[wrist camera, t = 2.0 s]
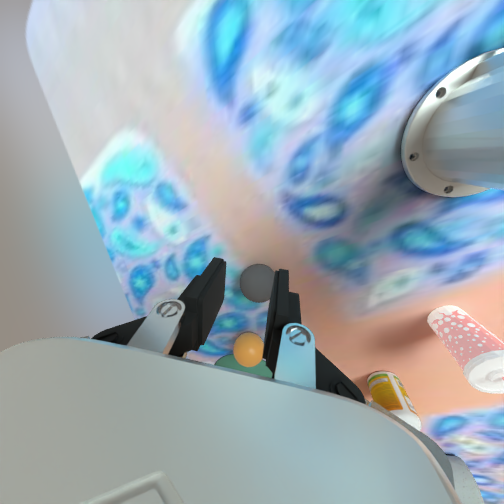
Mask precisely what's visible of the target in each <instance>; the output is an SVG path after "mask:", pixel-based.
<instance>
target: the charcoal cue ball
mask: <svg viewBox="0 0 504 504" xmlns="http://www.w3.org/2000/svg"><path fill="white" fill-rule="evenodd" d="M274 276H275V272H274V271H273V270H272V269H271V268H270V267H268V266H266V265H263V264H255V265H252V266H250V267H248V268H247V269H246V270H245V271H244V272H243V274H242V275H241V278H240V288H241V291H242V293H243V295H244V296H245V297H246V298H247V299H249V300H251V301H253V302H258V303H260V302H265V301H268V300H269V299H270V297H271V292H272V287H273V281H274Z"/></svg>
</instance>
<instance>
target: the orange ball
mask: <svg viewBox="0 0 504 504" xmlns="http://www.w3.org/2000/svg"><path fill="white" fill-rule="evenodd" d="M263 348H264V343H263V341H262V339H261V338H260V337H259V336H258V335H257V334H255V333H251V332H247V333H243V334H241V335H240V336H239V337H238V338H237V339H236V341H235V343H234V347H233V353H234V357H235V359H236V360H237V362H238V363H239V364H240V365H242V366H244V367H253V366H256V365H257V364H259V363H260V361H261V360H262V356H263Z"/></svg>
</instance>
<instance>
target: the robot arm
mask: <svg viewBox="0 0 504 504" xmlns="http://www.w3.org/2000/svg"><path fill="white" fill-rule="evenodd" d="M436 93H437V97H436V96H435V94H436ZM410 155H412V157H411V159H409V158H410ZM401 159H402V164H403V168H404V170H405V172H406V174H407V177H408V178H409V179H410V180H411V181H412V183H413V184H414V185H416V186H417V187H418V188H420V189H421V190H423V191H426V192H428V193H430V194H434V195H438V196H444V197H462V196H469V195H473V194H477V193H480V192H483V191H486V190H488V189H491V188H492V189H499V190H504V48H499V49H496V50H493V51H489V52H486V53H483V54H481V55H479V56H477V57H475V58H473V59H471V60H468V61H466V62H465V63H463V64H461V65H460V66H458V67H456V68H454V69H453V70H451V71H450V72H449V73H448V74H446V75H445V76H444V77H442V78H441V79H440V80H438V81H437V82H436V83H435V84H434V86H433V87H432V88H431V89H430V90H429V91H428V92H427V93H426V94H425V95H424V96H423V98H422V99H421V100H420V102H419V103H418V104H417V106H416V107H415V109H414V111H413V113H412V115H411V116H410V118H409V120H408V123H407V125H406V128H405V131H404V134H403V139H402V144H401ZM225 275H226V262H225V261H224V260H223V259H221V258H215V257H214V258H213V259H212V261H211V262H210V263H209V265H208V266H207V268H206V269H205V270H204V272H203V273H202V274H201V276H200V275H196V276H195V277H194V279H193V280H192V281H191V282H190V284H189V285H188V286H187V288H186V289H185V290H184V292H183V293H182V294H181V295H180V297H179V298H178V299H168V300H164V301H161V302H160V303H158V304H157V305H156V306H155V307H154V308H153V309H152V311H151V312H150V314H149V315H148V316H146V317H143V318H140V319H137V320H134V321H131V322H128V323H125V324H122V325H119V326H116V327H113V328H110V329H106V330H104V331H102V332H100V333H98V334H96V335H95V336H94V337H93V338H91V339H90V338H89V336H86V337H80V338H78V337H53V338H52V337H51V338H42V339H37V340H31V341H27V342H23V343H20V344H17V345H14V346H12V347H10V348H8V349H6V350H4V351H2V352H0V504H462V502H461V500H460V498H459V496H458V495H457V493H456V491H455V485H454V477H453V470H452V467H451V464H450V461H449V460H448V458H447V456H446V455H445V453H444V452H443V450H442V449H441V448H440V447H439V446H438V445H437V444H436V443H435V442H434V441H433V440H431V439H430V438H429V437H428V436H426V435H425V434H423V433H422V432H420V431H419V430H417V429H415V428H414V427H412V426H411V425H409V424H408V423H406V422H405V421H403V420H402V419H400V418H399V417H397V416H396V415H394V414H393V413H391V412H390V411H388V410H386V409H385V408H383V407H382V406H380V405H379V404H377V403H376V402H374V401H373V400H372V401H371V402H369V401H367V400H366V399H365V398H364V396H363V394H362V392H361V391H360V389H359V388H358V387H357V386H356V385H355V384H354V383H353V382H352V381H351V380H350V379H349V378H348V377H347V376H345V375H344V374H343V373H342V372H341V371H340V370H339V369H338V368H337V367H336V366H335V365H334V364H332V363H331V362H330V361H329V360H328V359H327V358H326V357H325V356H324V355H323V354H322V353H321V352H320V351H318V350H317V349H316V348H315V338H314V335H313V333H312V332H311V331H310V330H309V329H308V328H307V327H306V326H304V325H301V313H300V301H299V294H297V293H292V292H289V271H288V270H284V269H279V271H275V276H274V281H273V287H272V292H271V297H270V303H269V309H268V316H267V324H266V332H265V340H264V348H263V356H262V358H263V359H266V365H265V366H267V367H268V368H269V369H270V371H271V372H272V377H271V378H268V377H264V376H260V375H255V374H251V373H247V372H243V371H238V370H234V369H229V368H225V367H221V366H216V365H212V364H207V363H203V362H198V361H194V360H190V359H185V358H186V355H187V352H188V351H190V350H195V351H198V349H199V347H200V345H204V343H205V341H206V339H207V337H208V334H209V332H210V330H211V328H212V325H213V323H214V321H215V319H216V316H217V314H218V312H219V310H220V307H221V305H222V303H223V300H224V292H225Z"/></svg>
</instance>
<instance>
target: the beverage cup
mask: <svg viewBox="0 0 504 504" xmlns="http://www.w3.org/2000/svg"><path fill="white" fill-rule="evenodd" d="M427 322H428V323H429V325H430V326H431V328H432V329H433V330H434V332H435V333H436V335H437V336H438V337H439V339H440V340H441V341H442V343H443V344H444V345H445V347H446V348H447V350H448V351H449V352H450V354H451V355H452V356H453V358H454V359H455V360H456V362H457V363H458V365H459V366H460V367H461V369H462V370H463V371H464V372H463V374H464V376H465V377H466V379H467V380H468V382H469V383H470V385H471V386H472V387H474V388H476V389H477V390H479V391H482V392H487V393H504V342H503V341H502V340H501V339H500V338H498V337H497V336H496V335H494V334H493V333H492V332H490V331H489V330H488V329H487V328H485V327H484V326H483V325H481V324H480V323H479V322H477V321H476V320H475V319H474V318H472V317H471V316H470V315H468V314H467V313H466V312H464V311H463V310H462V309H460V308H458V307H457V306H451V305H449V306H442V307H439V308H436V309H435V310H433V311H432V312H431V313H430V314H429V316H428V321H427Z"/></svg>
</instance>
